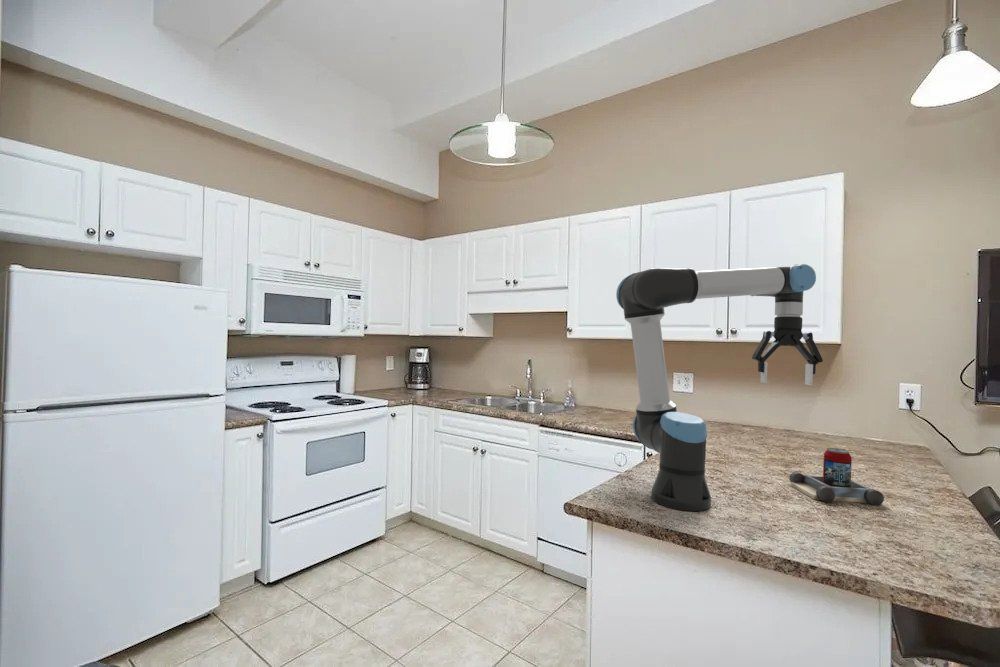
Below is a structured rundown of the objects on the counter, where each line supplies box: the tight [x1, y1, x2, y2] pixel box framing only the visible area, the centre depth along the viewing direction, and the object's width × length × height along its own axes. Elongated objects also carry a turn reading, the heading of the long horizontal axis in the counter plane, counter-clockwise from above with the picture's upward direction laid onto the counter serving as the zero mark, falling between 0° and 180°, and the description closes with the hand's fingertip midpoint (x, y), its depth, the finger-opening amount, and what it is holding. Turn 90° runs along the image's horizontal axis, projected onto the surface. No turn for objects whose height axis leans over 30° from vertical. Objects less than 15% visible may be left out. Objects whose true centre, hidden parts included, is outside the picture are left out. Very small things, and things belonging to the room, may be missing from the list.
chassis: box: [789, 471, 885, 506], centre depth 139 cm, size 18×16×4 cm
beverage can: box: [822, 447, 853, 488], centre depth 139 cm, size 7×7×12 cm
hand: (786, 383), depth 147 cm, fingers open, 13 cm apart
